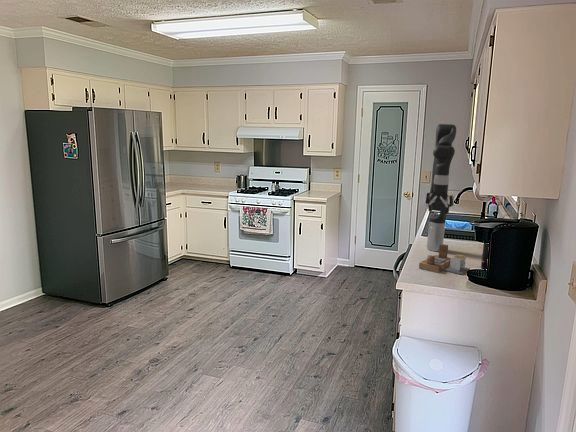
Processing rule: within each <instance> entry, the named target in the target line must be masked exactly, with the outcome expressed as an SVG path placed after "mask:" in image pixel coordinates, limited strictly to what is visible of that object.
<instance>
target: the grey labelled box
mask: <svg viewBox="0 0 576 432" xmlns="http://www.w3.org/2000/svg"><path fill="white" fill-rule="evenodd" d="M454 255H455V256H452V257H450V258H451V259H450V266H449V267H450V269H449V270H454V271H458V272H460V271H461V270H463V269H464V268H465V267H466V259H467V258H466V256H465V254H458V253H456V254H454Z"/></svg>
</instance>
